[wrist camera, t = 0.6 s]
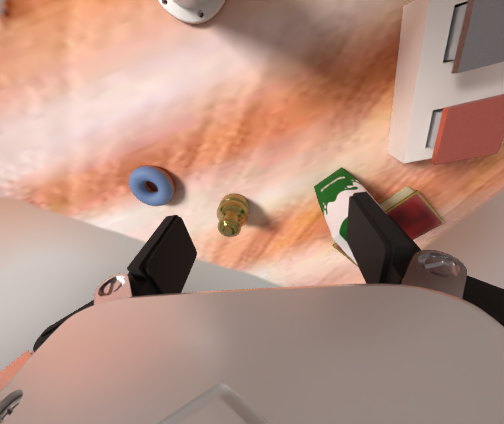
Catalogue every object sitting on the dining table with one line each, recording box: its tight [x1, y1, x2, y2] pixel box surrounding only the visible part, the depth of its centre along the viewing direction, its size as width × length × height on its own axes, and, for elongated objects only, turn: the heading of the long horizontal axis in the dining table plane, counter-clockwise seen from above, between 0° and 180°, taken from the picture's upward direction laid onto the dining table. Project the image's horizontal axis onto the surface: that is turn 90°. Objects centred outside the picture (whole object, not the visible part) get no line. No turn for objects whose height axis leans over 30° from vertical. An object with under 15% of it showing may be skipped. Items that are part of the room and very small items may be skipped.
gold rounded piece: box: [217, 194, 249, 237], centre depth 46 cm, size 7×7×10 cm
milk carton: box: [314, 168, 382, 265], centre depth 38 cm, size 9×9×20 cm
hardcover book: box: [332, 186, 444, 266], centre depth 49 cm, size 12×21×4 cm, turn 140°
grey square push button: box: [443, 0, 504, 74], centre depth 25 cm, size 8×8×6 cm
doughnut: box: [129, 165, 175, 206], centre depth 47 cm, size 10×10×5 cm
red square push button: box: [426, 94, 504, 165], centre depth 31 cm, size 8×8×6 cm
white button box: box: [387, 0, 504, 163], centre depth 32 cm, size 22×12×6 cm, turn 14°
